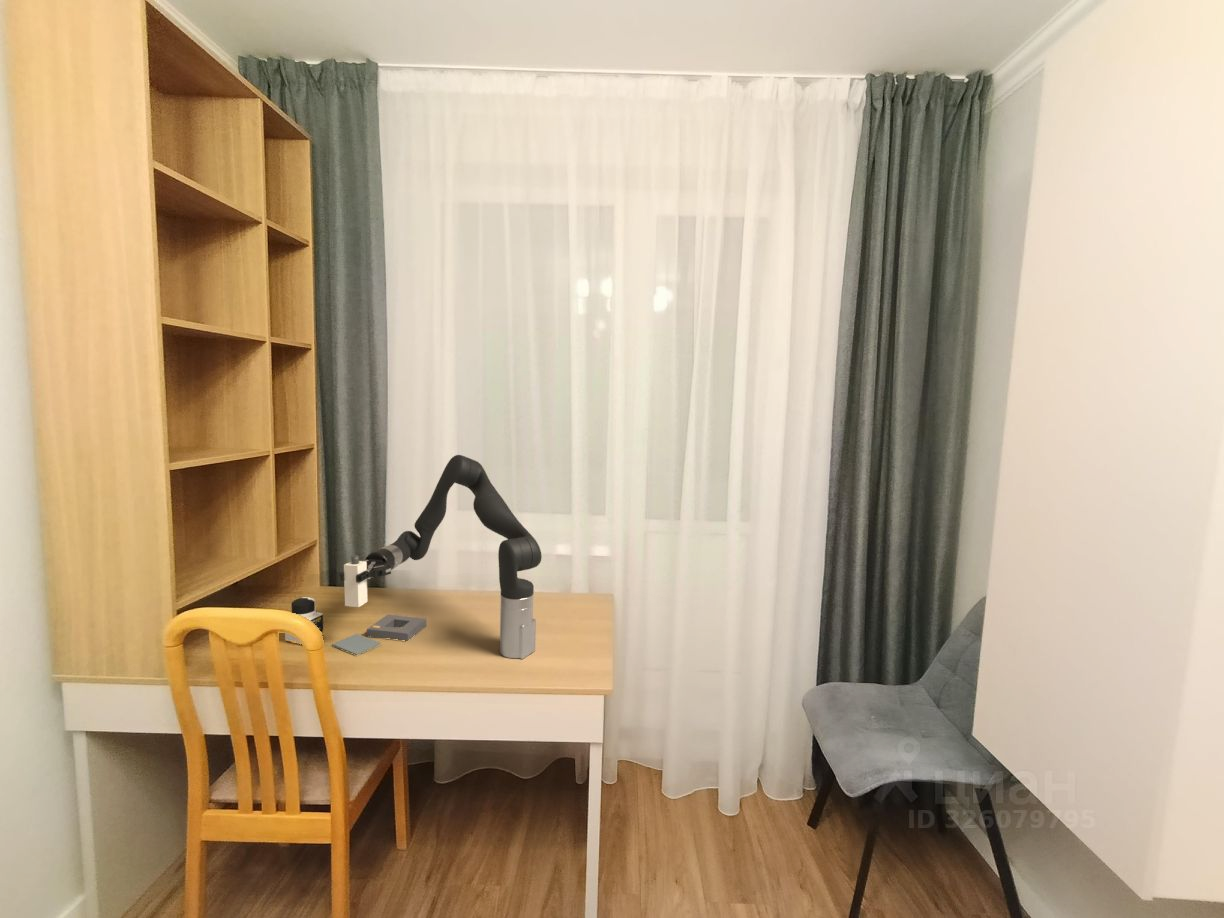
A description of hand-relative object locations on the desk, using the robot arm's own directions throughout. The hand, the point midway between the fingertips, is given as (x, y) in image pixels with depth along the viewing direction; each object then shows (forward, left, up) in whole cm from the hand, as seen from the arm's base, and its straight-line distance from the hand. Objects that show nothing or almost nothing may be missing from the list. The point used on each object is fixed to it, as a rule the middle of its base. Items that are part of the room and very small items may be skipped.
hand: (349, 578), depth 154 cm
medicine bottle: (+17, +3, -21) cm, 27 cm away
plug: (+1, -3, -8) cm, 9 cm away
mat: (+1, -2, -21) cm, 21 cm away
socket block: (-1, -15, -21) cm, 26 cm away
